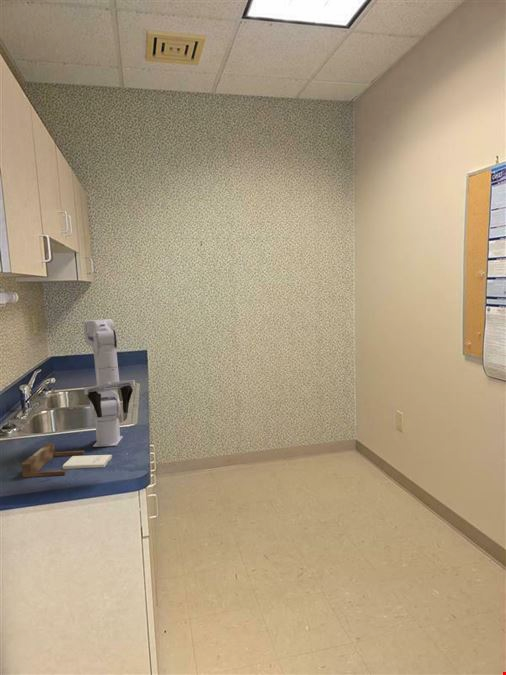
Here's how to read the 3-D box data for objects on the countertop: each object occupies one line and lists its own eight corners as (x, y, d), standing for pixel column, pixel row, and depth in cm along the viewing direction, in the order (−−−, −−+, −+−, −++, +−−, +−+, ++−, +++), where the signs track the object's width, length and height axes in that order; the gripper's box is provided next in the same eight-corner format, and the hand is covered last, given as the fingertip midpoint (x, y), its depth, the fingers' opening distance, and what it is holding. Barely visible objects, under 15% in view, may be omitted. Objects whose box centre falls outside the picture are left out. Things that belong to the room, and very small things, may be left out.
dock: (47, 455, 143) (46, 442, 142) (84, 453, 143) (83, 440, 143) (22, 477, 125) (21, 462, 125) (64, 474, 126) (63, 460, 126)
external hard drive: (73, 460, 139) (112, 458, 139) (62, 470, 130) (104, 468, 131) (72, 455, 138) (111, 453, 139) (62, 465, 130) (103, 463, 131)
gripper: (78, 371, 125) (82, 418, 123) (128, 363, 126) (133, 410, 123) (87, 374, 132) (91, 419, 129) (135, 367, 133) (139, 411, 130)
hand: (112, 415), depth 127 cm, fingers open, 7 cm apart
